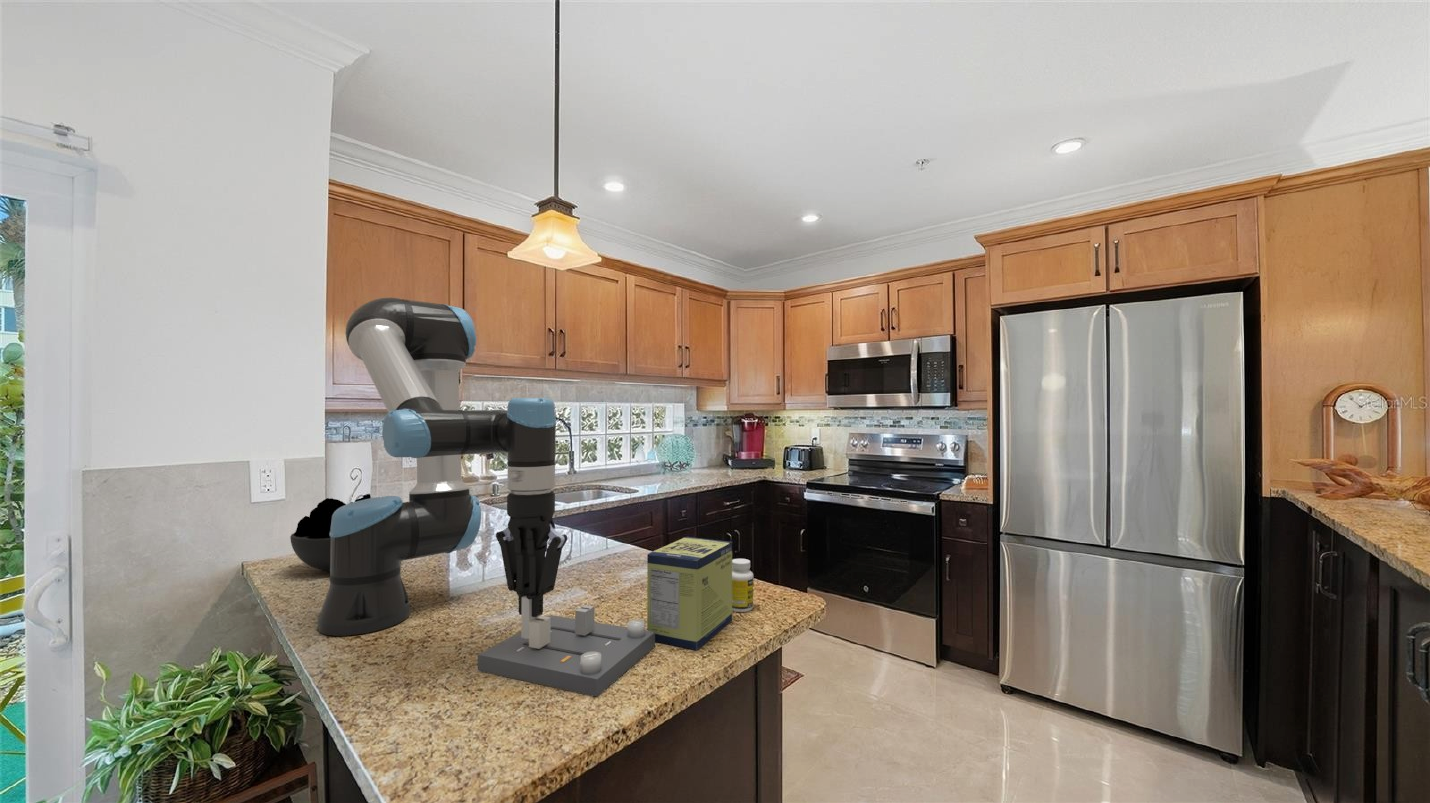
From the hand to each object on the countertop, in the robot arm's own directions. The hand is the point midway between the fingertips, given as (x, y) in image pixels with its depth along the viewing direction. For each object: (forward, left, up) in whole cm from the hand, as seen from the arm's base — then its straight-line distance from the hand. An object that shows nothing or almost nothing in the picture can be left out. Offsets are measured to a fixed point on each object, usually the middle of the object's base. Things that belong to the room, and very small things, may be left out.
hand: (530, 634), depth 89 cm
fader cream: (+2, 0, -1) cm, 2 cm away
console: (+6, +3, -4) cm, 8 cm away
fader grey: (+6, +7, -1) cm, 9 cm away
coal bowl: (-81, +24, -4) cm, 85 cm away
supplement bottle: (+25, +35, -4) cm, 43 cm away
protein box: (+20, +21, -4) cm, 29 cm away
